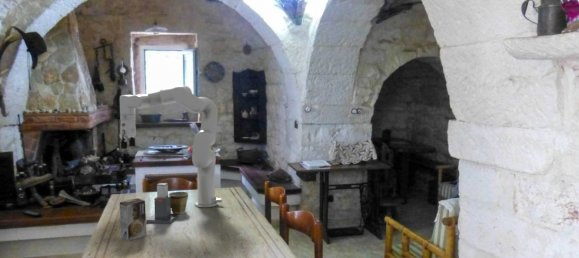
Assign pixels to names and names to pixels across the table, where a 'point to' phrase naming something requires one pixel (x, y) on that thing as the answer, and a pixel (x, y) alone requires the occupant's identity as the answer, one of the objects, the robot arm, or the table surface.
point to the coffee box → (132, 219)
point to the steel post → (162, 190)
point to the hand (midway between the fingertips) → (128, 147)
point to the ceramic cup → (178, 202)
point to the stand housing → (162, 211)
